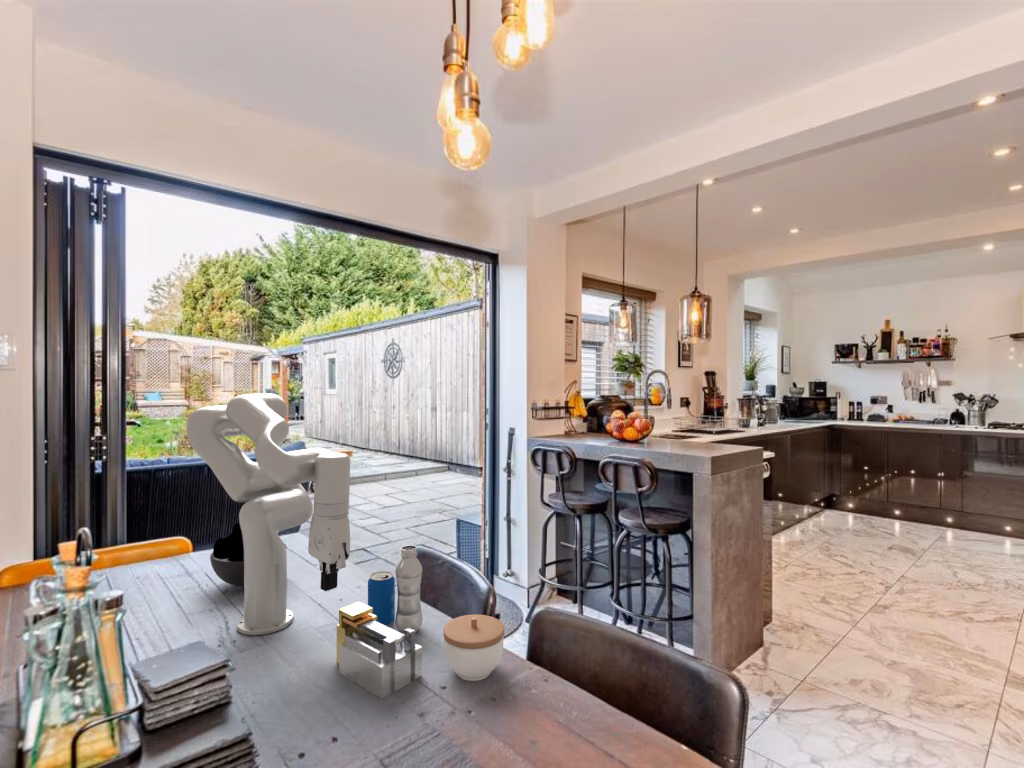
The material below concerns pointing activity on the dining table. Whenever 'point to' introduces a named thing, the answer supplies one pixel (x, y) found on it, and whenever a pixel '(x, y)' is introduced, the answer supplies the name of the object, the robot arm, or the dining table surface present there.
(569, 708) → the dining table surface
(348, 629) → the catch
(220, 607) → the dining table surface
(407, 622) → the plastic bottle
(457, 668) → the lidded bowl
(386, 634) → the strap
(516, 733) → the dining table surface
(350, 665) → the heatsink
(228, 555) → the bowl of black rocks
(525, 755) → the dining table surface
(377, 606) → the beverage can
